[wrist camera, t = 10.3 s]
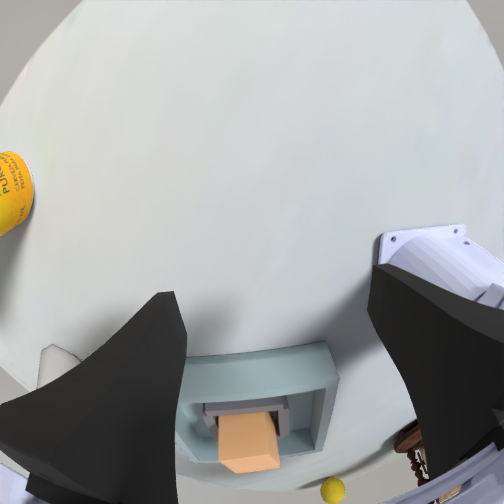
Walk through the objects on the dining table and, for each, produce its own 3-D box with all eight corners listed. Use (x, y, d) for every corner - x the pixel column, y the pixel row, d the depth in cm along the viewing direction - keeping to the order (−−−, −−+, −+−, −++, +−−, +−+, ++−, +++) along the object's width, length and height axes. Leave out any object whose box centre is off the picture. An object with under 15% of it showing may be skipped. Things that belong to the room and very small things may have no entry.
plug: (261, 392, 24) (268, 453, 18) (272, 412, 26) (280, 467, 20) (218, 400, 25) (218, 460, 18) (234, 420, 27) (236, 473, 20)
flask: (103, 372, 24) (76, 449, 15) (84, 393, 26) (61, 457, 17) (48, 333, 22) (7, 404, 13) (37, 360, 24) (6, 421, 15)
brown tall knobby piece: (455, 391, 33) (499, 472, 15) (453, 414, 39) (486, 479, 21) (385, 434, 36) (416, 522, 18) (397, 448, 42) (421, 517, 24)
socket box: (325, 340, 23) (339, 378, 19) (315, 423, 30) (322, 451, 26) (151, 358, 23) (141, 395, 19) (194, 434, 30) (192, 462, 26)
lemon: (326, 474, 43) (332, 503, 36) (345, 471, 44) (353, 499, 37) (313, 481, 45) (318, 508, 38) (332, 479, 46) (338, 505, 39)
